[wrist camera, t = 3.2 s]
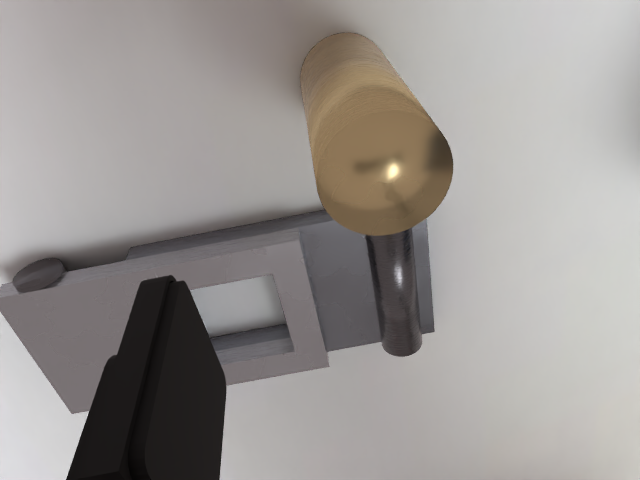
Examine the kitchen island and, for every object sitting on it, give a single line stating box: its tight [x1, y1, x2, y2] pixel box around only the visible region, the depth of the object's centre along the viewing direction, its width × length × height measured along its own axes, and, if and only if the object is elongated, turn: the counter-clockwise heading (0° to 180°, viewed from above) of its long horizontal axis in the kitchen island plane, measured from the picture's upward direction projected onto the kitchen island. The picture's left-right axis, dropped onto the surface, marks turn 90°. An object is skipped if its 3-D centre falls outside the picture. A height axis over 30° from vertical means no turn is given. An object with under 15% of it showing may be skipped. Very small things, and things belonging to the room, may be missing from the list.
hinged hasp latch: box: [0, 210, 434, 414], centre depth 29 cm, size 22×10×2 cm, turn 100°
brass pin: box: [300, 33, 453, 236], centre depth 19 cm, size 4×4×10 cm
